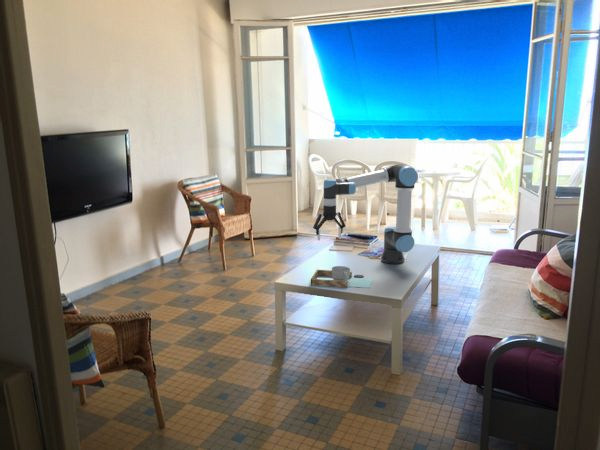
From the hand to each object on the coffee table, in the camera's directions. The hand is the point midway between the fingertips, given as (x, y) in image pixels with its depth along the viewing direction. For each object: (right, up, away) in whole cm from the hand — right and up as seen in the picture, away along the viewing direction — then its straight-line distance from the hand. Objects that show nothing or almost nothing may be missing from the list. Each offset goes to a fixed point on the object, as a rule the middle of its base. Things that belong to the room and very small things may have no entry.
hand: (329, 239), depth 322 cm
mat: (+17, -25, -14) cm, 34 cm away
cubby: (+1, -24, -11) cm, 27 cm away
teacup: (+6, -25, -12) cm, 28 cm away
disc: (+18, -22, -3) cm, 29 cm away
